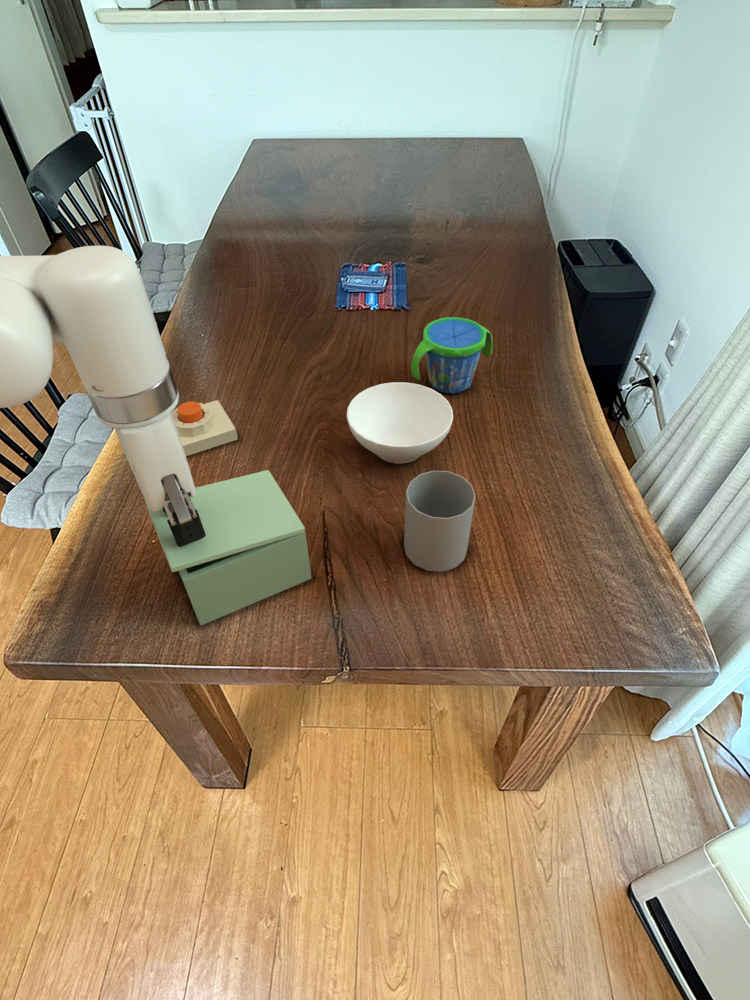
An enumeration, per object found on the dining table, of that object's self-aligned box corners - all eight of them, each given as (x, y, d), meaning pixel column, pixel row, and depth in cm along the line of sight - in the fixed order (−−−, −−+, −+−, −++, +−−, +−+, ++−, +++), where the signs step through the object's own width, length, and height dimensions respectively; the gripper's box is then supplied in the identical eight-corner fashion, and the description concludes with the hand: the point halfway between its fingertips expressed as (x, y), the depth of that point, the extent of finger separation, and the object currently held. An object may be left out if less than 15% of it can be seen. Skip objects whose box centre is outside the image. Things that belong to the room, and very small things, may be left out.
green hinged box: (200, 626, 71) (183, 581, 65) (174, 560, 79) (156, 514, 72) (311, 578, 76) (305, 532, 70) (277, 520, 83) (269, 474, 77)
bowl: (330, 465, 91) (327, 429, 86) (373, 408, 102) (373, 372, 97) (428, 495, 87) (431, 458, 82) (463, 431, 97) (467, 396, 92)
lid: (172, 572, 64) (165, 535, 60) (145, 504, 71) (138, 468, 67) (305, 532, 70) (306, 497, 66) (268, 474, 77) (267, 439, 73)
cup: (466, 526, 82) (475, 473, 75) (467, 573, 77) (476, 520, 70) (405, 522, 83) (408, 468, 76) (402, 568, 77) (403, 515, 70)
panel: (170, 461, 92) (163, 441, 90) (155, 429, 98) (149, 410, 95) (238, 439, 96) (233, 419, 93) (220, 410, 102) (215, 390, 99)
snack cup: (423, 410, 101) (426, 357, 94) (398, 377, 108) (399, 326, 101) (503, 389, 105) (512, 337, 98) (474, 359, 112) (480, 309, 105)
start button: (183, 426, 93) (181, 417, 92) (177, 414, 95) (174, 405, 94) (206, 419, 94) (203, 410, 93) (199, 407, 96) (196, 398, 95)
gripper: (75, 358, 59) (133, 489, 72) (110, 458, 48) (171, 590, 61) (151, 337, 61) (194, 468, 74) (200, 428, 51) (241, 561, 64)
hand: (183, 522), depth 68 cm, fingers closed on lid, 5 cm apart
